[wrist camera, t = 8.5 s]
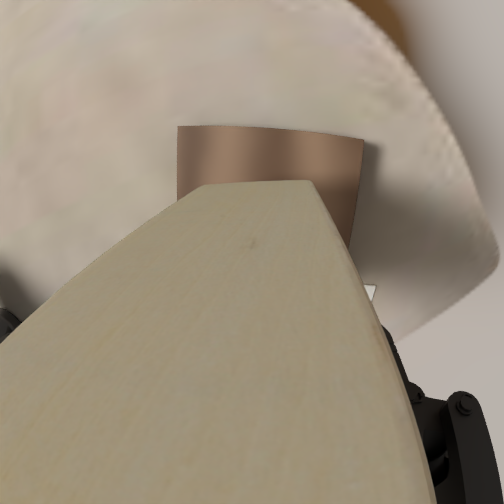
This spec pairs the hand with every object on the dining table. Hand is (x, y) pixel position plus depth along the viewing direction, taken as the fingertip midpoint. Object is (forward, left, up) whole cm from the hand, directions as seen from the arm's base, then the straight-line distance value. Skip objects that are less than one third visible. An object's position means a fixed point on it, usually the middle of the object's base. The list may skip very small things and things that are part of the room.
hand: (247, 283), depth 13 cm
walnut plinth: (0, 0, -13) cm, 13 cm away
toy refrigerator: (0, 0, -5) cm, 5 cm away
